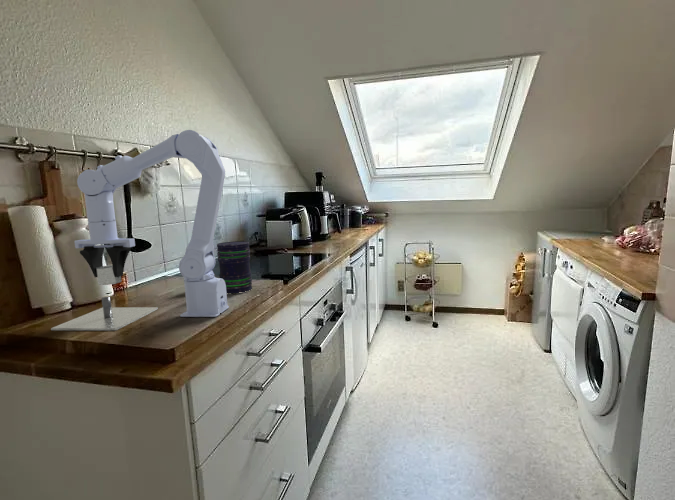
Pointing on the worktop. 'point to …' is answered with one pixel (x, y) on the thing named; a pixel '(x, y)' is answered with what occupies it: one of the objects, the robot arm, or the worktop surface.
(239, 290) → the storage jar
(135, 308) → the thin grey base plate
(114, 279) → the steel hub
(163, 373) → the worktop surface
